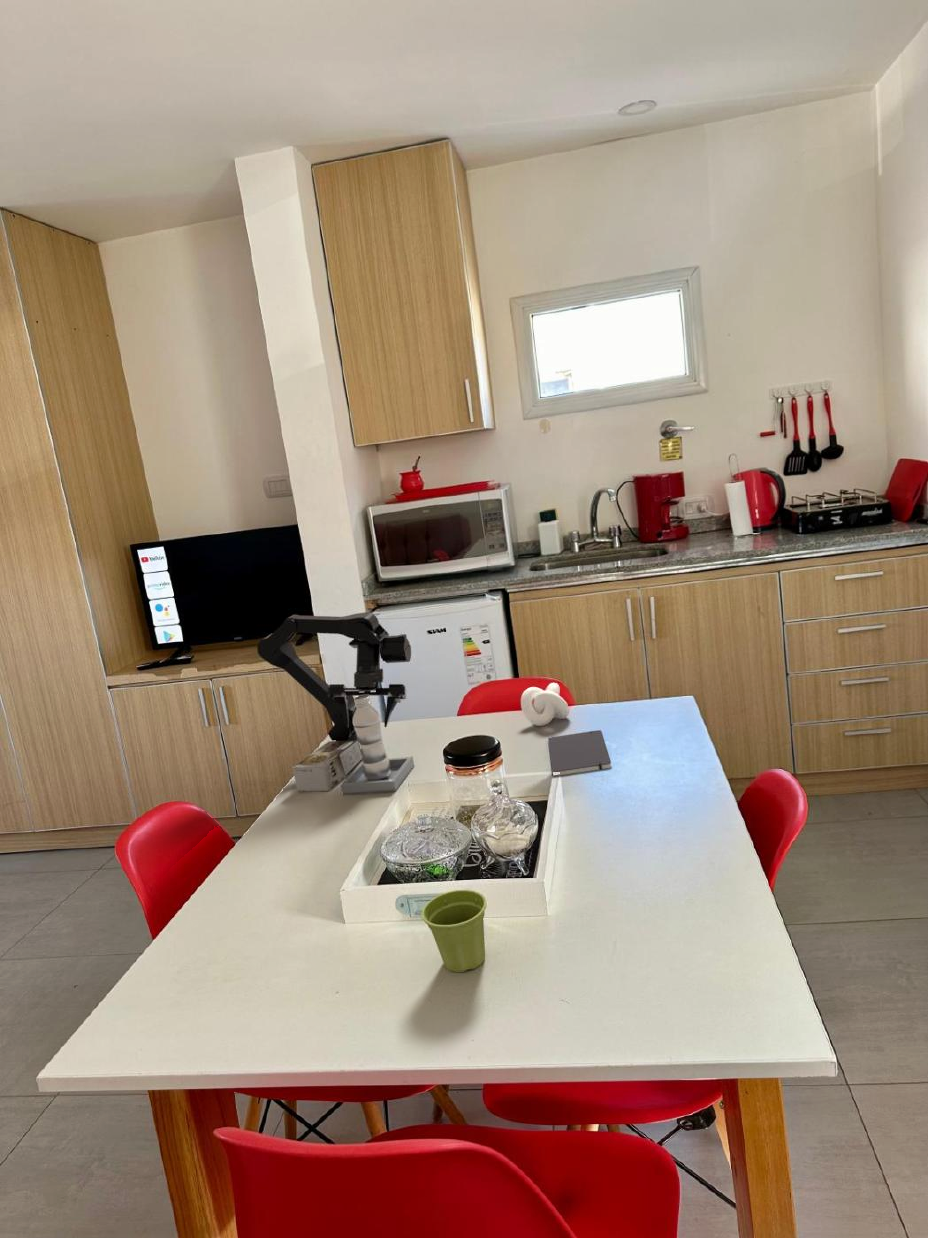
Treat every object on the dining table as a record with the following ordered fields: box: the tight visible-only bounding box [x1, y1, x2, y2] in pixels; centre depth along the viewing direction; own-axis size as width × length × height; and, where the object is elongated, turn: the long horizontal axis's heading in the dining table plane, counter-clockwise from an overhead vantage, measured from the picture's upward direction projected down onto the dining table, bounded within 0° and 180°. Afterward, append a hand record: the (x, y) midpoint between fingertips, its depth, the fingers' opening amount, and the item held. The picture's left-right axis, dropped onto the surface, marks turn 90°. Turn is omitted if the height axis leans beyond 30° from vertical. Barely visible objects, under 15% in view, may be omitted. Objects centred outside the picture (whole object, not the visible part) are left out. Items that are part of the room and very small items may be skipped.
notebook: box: [547, 729, 612, 776], centre depth 194 cm, size 13×2×21 cm
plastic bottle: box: [353, 695, 391, 781], centre depth 198 cm, size 6×7×20 cm
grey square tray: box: [340, 756, 415, 796], centre depth 200 cm, size 14×13×2 cm
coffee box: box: [291, 740, 363, 792], centre depth 207 cm, size 9×6×16 cm
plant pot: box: [421, 889, 487, 973], centre depth 124 cm, size 9×9×9 cm
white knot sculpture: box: [520, 682, 570, 727], centre depth 219 cm, size 11×12×9 cm
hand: (366, 727), depth 207 cm, fingers open, 9 cm apart
